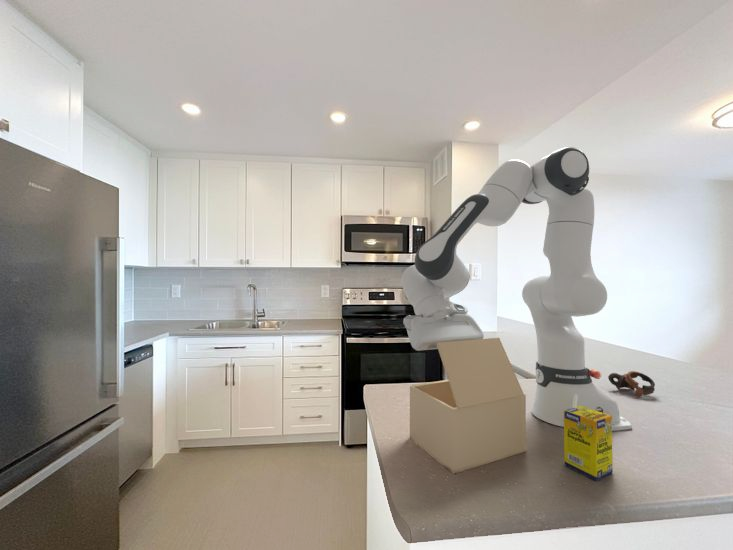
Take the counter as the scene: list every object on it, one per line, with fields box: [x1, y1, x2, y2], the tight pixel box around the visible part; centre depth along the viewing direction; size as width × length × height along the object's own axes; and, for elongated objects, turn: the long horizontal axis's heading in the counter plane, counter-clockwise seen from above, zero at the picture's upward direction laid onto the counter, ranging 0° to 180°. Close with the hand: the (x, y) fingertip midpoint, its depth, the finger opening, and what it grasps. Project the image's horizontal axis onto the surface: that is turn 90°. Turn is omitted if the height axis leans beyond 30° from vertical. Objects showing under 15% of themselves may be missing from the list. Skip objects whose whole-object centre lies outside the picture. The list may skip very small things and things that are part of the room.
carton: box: [409, 379, 527, 475], centre depth 69 cm, size 20×16×12 cm
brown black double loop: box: [607, 370, 656, 398], centre depth 105 cm, size 12×10×8 cm
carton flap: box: [436, 337, 525, 408], centre depth 65 cm, size 18×13×1 cm
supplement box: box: [563, 406, 614, 481], centre depth 60 cm, size 6×6×11 cm
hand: (461, 361), depth 71 cm, fingers closed
